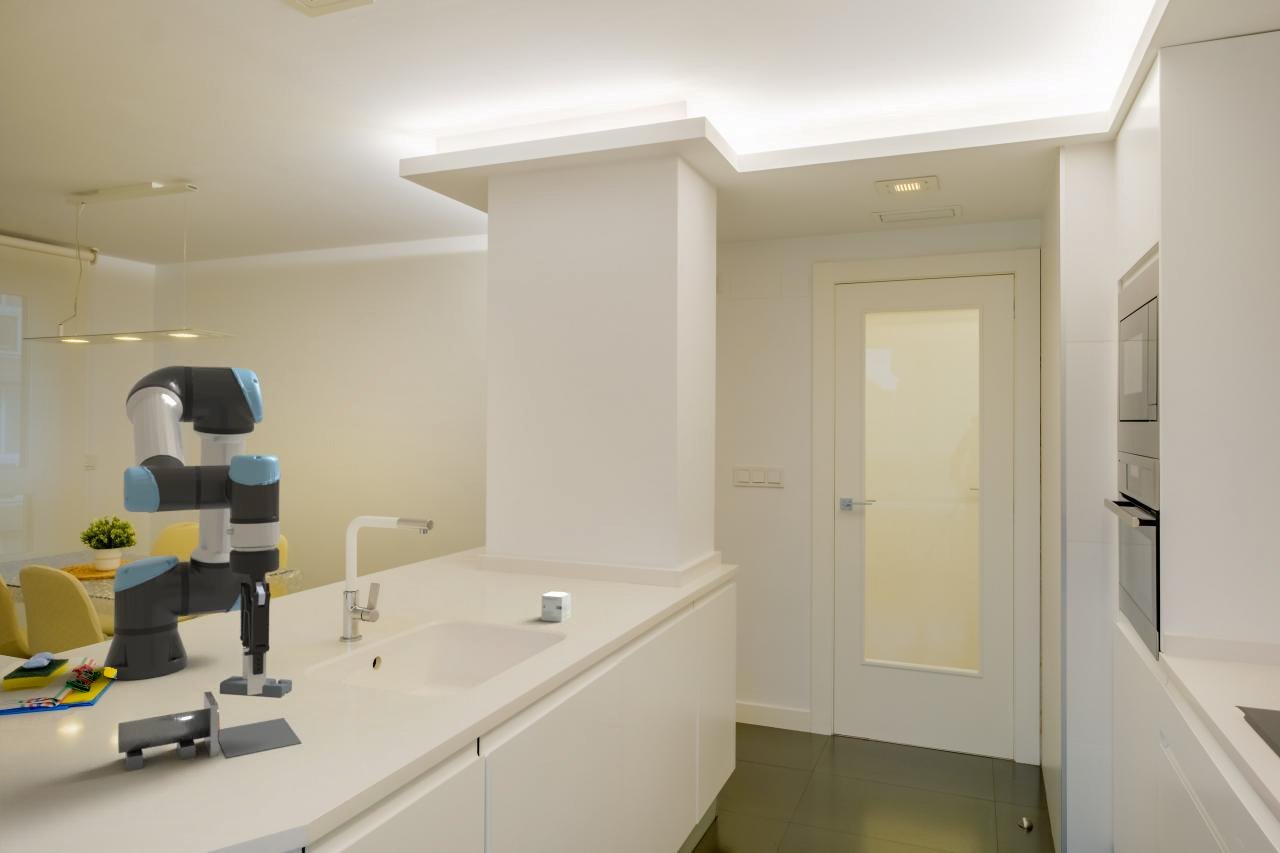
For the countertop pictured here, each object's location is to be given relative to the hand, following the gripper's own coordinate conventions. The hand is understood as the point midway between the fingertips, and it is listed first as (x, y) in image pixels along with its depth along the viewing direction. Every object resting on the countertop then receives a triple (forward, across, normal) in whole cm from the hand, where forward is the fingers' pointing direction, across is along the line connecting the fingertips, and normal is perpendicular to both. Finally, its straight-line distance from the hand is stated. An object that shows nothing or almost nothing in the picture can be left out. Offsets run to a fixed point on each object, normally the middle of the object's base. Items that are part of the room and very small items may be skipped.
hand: (254, 689), depth 137 cm
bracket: (+2, -4, -2) cm, 5 cm away
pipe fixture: (+8, +1, -13) cm, 15 cm away
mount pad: (+8, 0, 0) cm, 8 cm away
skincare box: (+8, -47, +82) cm, 95 cm away
